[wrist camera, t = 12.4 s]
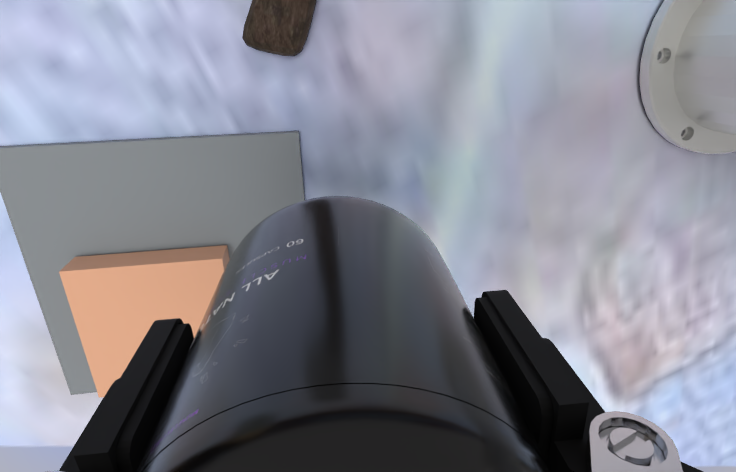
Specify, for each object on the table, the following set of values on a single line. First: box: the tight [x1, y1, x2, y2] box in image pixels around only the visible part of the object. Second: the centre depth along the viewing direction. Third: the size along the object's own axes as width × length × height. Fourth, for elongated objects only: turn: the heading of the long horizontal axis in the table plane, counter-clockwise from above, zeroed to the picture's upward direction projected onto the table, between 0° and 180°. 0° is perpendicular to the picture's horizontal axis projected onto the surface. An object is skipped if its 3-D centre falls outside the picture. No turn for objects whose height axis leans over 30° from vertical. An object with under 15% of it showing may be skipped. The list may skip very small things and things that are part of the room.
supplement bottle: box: [136, 196, 551, 472], centre depth 9 cm, size 7×7×12 cm
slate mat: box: [0, 131, 305, 395], centre depth 30 cm, size 17×17×1 cm
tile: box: [59, 245, 230, 397], centre depth 29 cm, size 9×2×9 cm
